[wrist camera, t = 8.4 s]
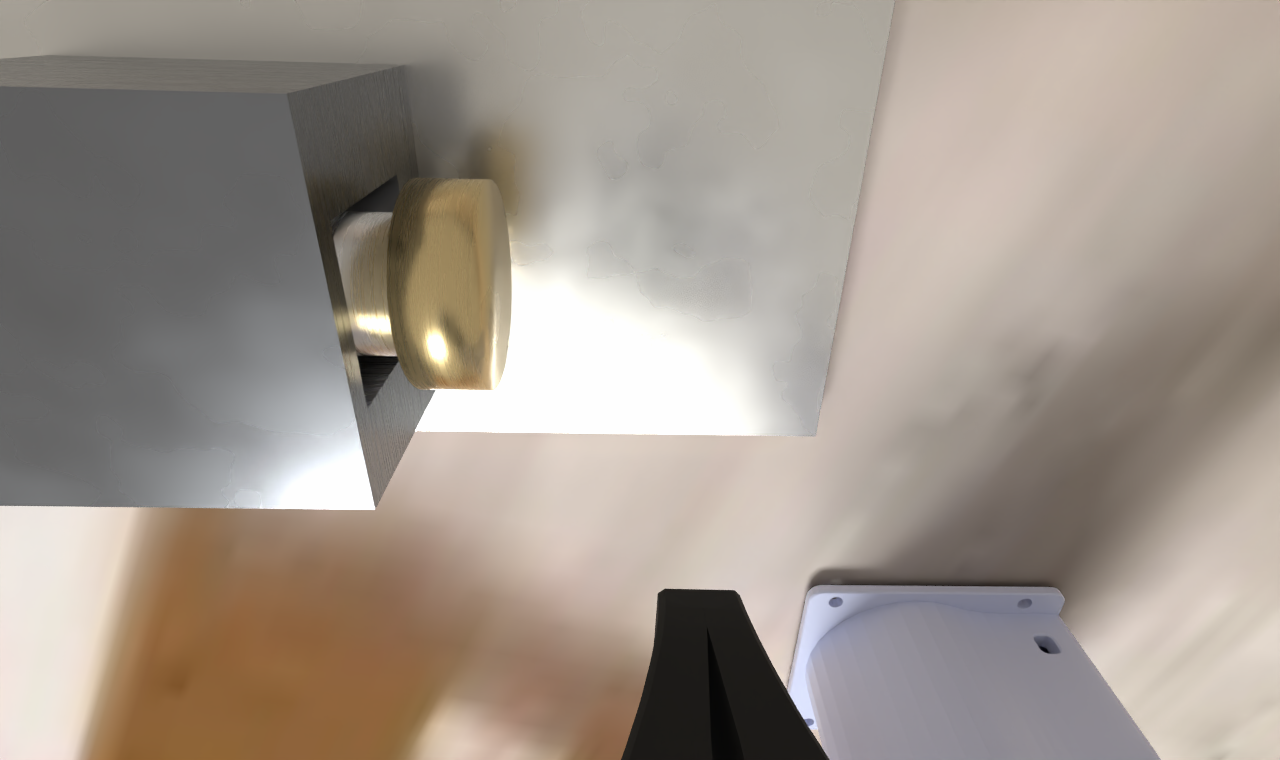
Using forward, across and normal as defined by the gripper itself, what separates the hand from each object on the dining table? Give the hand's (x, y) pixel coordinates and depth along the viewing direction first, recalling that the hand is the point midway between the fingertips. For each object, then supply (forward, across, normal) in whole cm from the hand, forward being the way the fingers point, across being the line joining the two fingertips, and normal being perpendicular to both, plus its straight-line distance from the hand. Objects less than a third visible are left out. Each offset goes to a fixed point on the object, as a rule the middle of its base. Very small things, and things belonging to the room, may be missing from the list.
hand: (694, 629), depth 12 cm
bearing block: (+10, +7, -4) cm, 12 cm away
